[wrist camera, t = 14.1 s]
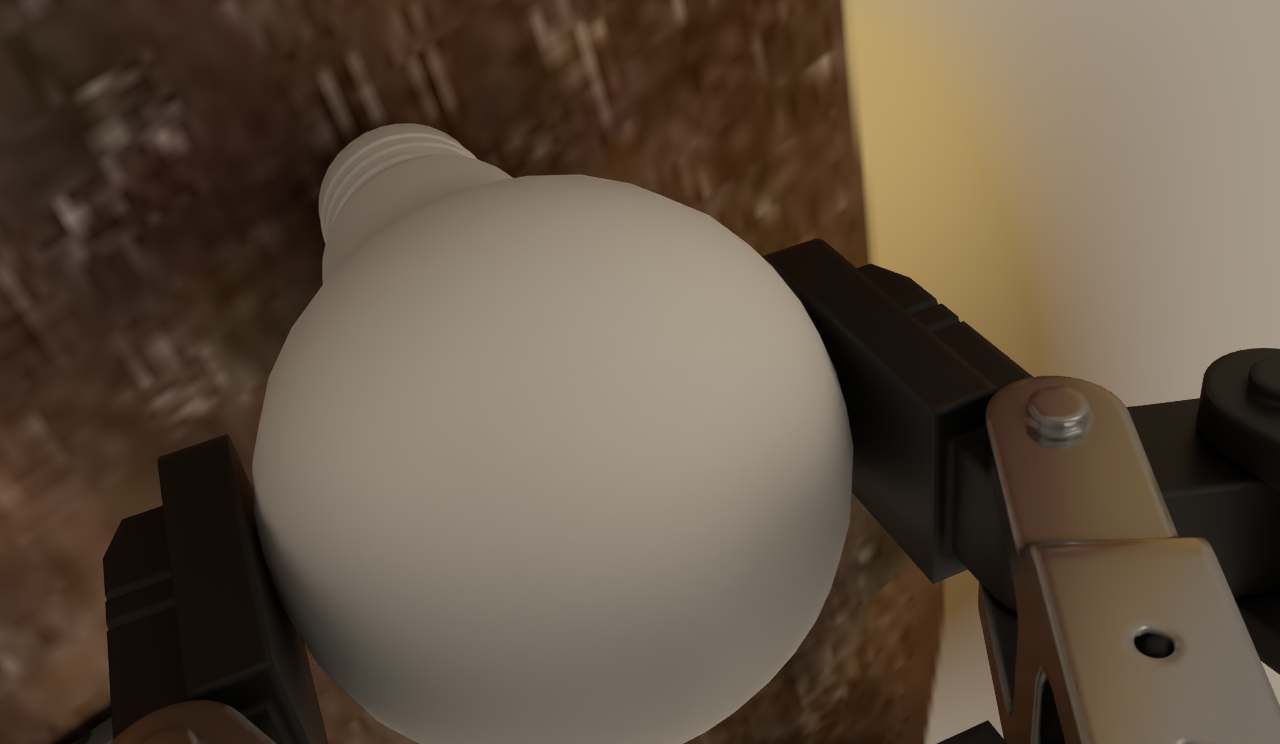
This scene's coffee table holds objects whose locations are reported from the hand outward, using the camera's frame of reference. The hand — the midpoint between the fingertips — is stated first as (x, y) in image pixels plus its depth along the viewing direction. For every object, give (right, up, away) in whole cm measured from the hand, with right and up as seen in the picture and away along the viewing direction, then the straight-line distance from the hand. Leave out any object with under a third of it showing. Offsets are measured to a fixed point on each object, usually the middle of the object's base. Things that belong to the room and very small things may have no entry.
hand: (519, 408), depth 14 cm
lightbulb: (-3, +3, +5) cm, 7 cm away
